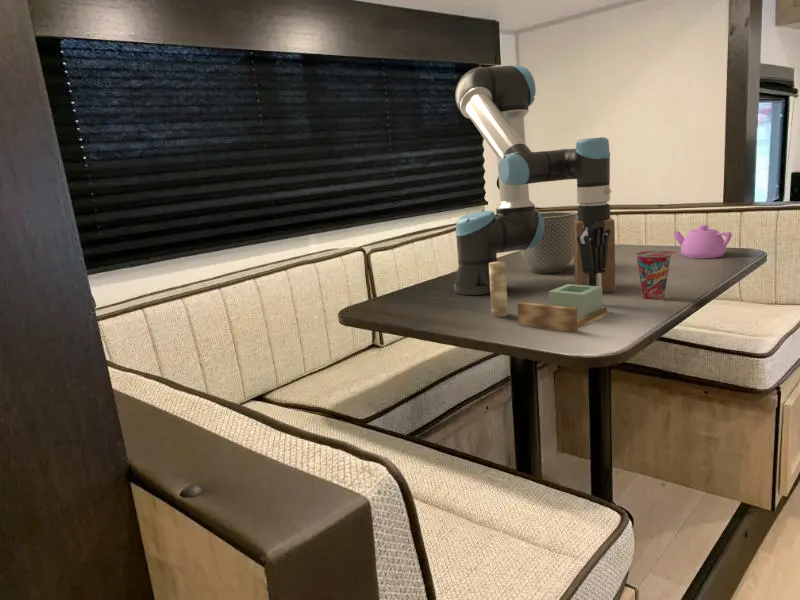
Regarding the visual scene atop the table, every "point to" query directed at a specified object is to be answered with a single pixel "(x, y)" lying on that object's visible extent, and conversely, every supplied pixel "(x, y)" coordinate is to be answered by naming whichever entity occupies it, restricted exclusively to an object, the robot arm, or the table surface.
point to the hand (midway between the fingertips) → (595, 298)
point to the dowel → (498, 289)
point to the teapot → (703, 243)
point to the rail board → (555, 317)
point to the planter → (553, 243)
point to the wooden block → (609, 274)
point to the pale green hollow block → (577, 298)
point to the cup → (653, 273)
